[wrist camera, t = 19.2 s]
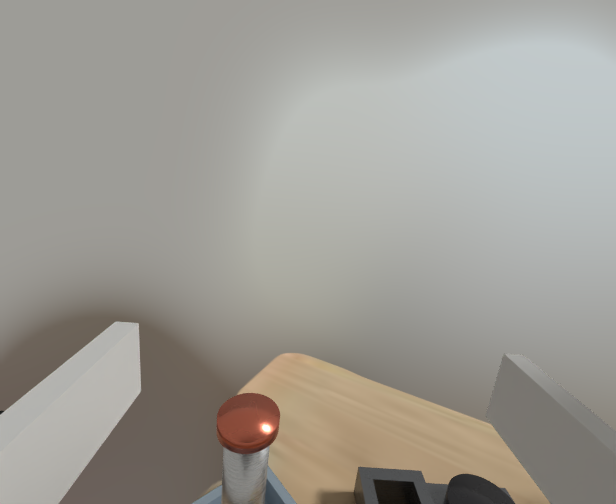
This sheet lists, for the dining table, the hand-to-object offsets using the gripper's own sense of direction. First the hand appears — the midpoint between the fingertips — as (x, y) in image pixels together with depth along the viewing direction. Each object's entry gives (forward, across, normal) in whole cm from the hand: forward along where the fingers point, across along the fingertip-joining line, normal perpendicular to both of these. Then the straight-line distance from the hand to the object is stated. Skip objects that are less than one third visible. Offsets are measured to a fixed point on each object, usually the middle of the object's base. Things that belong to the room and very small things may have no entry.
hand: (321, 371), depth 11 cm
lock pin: (+10, -4, -31) cm, 33 cm away
